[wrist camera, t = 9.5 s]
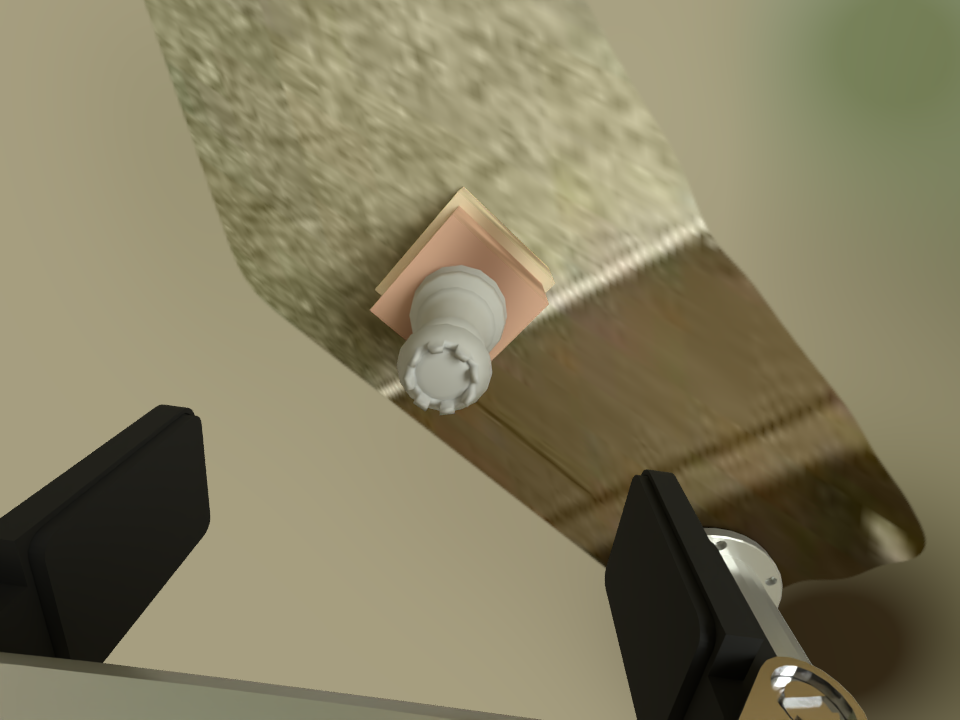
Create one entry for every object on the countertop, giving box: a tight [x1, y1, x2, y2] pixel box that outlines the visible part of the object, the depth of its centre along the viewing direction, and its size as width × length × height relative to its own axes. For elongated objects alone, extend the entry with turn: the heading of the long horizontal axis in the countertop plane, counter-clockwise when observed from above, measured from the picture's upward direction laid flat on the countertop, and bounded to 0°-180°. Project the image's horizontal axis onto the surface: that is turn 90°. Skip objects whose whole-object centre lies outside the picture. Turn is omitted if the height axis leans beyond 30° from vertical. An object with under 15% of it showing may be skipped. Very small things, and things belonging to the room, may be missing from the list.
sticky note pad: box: [370, 187, 555, 361], centre depth 27 cm, size 7×7×8 cm
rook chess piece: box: [397, 265, 507, 415], centre depth 20 cm, size 4×4×8 cm
